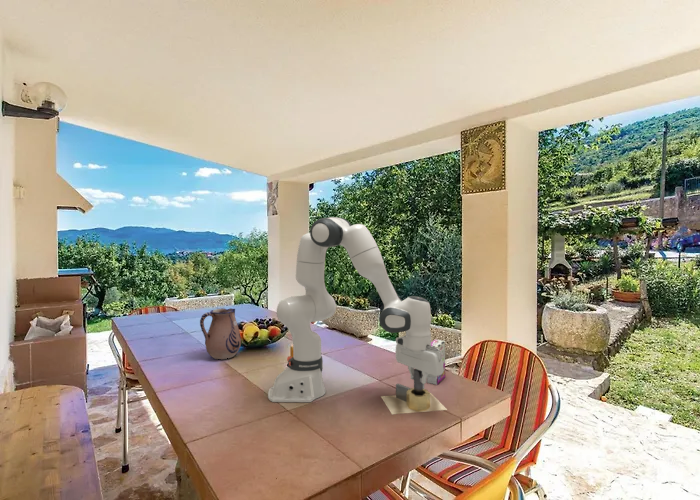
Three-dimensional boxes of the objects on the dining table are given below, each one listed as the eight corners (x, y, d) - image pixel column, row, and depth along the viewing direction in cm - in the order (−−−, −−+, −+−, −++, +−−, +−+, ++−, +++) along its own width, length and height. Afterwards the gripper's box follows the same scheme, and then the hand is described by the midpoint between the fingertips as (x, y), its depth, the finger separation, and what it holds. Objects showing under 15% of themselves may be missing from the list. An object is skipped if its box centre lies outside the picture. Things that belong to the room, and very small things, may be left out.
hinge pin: (416, 403, 128) (416, 372, 128) (412, 399, 131) (412, 369, 131) (424, 402, 129) (424, 370, 129) (419, 398, 132) (419, 368, 132)
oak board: (392, 418, 124) (392, 414, 124) (380, 400, 139) (380, 396, 139) (447, 414, 128) (447, 409, 128) (430, 396, 142) (430, 392, 142)
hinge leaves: (406, 412, 126) (406, 397, 126) (395, 396, 139) (395, 383, 138) (437, 409, 128) (437, 395, 128) (423, 394, 140) (423, 381, 140)
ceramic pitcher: (248, 355, 195) (247, 308, 195) (214, 366, 178) (214, 315, 177) (226, 350, 205) (226, 306, 205) (192, 360, 187) (192, 311, 187)
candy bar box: (434, 375, 166) (434, 339, 166) (445, 377, 163) (445, 340, 163) (426, 383, 156) (426, 344, 156) (437, 385, 154) (437, 346, 153)
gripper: (447, 347, 124) (447, 388, 124) (404, 335, 140) (405, 371, 140) (434, 350, 120) (434, 392, 120) (392, 337, 137) (392, 374, 137)
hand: (418, 381), depth 130 cm, fingers closed on hinge pin, 3 cm apart
